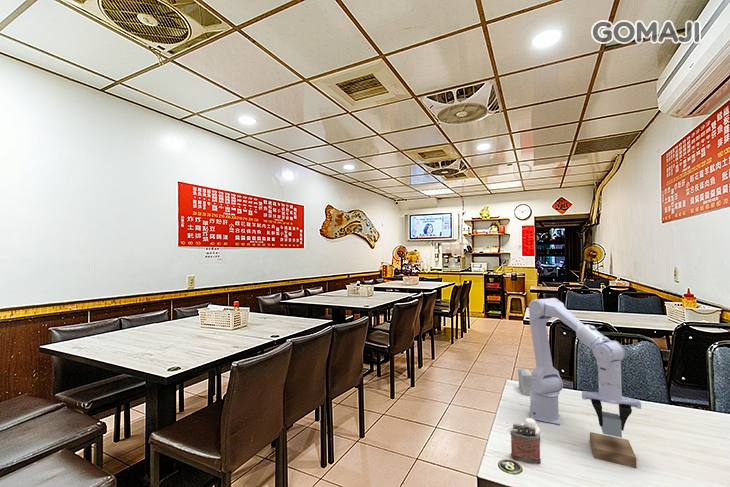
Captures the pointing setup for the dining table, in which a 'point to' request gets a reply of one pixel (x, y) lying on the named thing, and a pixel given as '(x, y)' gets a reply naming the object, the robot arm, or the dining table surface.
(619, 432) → the slate cube
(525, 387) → the medicine box
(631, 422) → the dining table surface
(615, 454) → the walnut block
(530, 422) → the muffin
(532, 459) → the lighter
